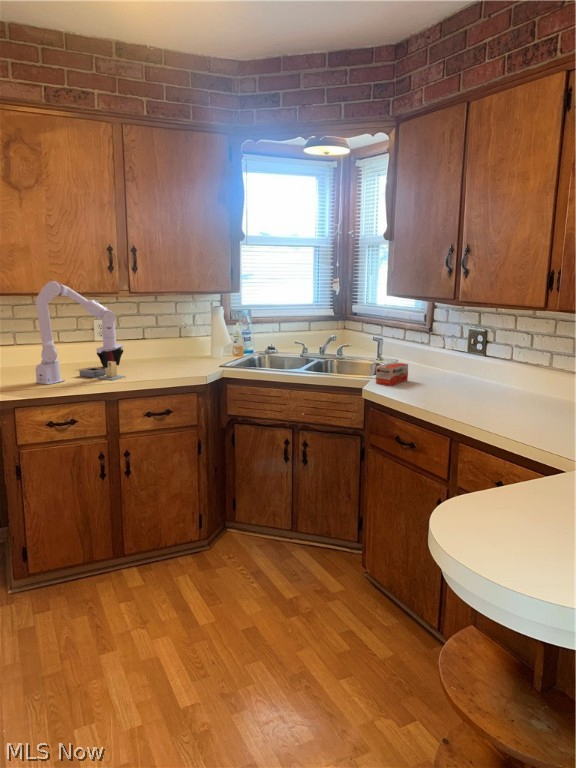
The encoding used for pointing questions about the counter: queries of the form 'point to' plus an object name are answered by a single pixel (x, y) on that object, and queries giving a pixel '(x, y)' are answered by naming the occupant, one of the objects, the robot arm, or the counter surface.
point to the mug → (110, 356)
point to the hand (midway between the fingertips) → (111, 366)
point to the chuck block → (92, 372)
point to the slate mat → (110, 378)
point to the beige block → (111, 369)
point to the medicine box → (391, 373)
